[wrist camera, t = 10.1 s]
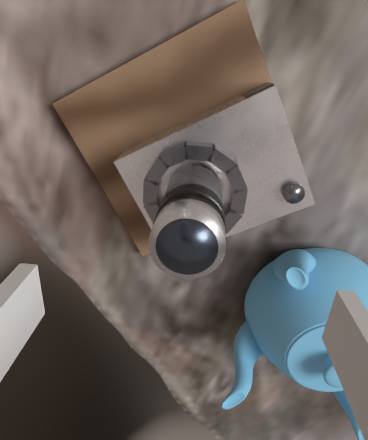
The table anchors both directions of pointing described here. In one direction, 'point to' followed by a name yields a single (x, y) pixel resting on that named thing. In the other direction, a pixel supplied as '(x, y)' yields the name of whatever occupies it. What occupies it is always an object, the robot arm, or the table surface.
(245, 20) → the board
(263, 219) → the camera body
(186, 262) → the lens
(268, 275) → the teapot
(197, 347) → the table surface
